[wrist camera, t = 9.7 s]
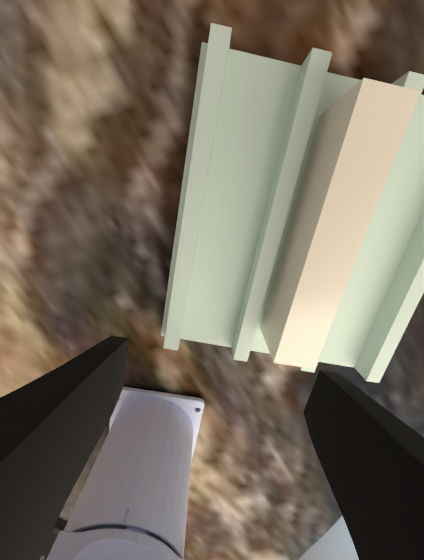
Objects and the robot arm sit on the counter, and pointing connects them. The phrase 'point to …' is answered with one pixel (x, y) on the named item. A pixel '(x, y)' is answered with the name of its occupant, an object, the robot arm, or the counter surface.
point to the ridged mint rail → (283, 210)
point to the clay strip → (333, 216)
